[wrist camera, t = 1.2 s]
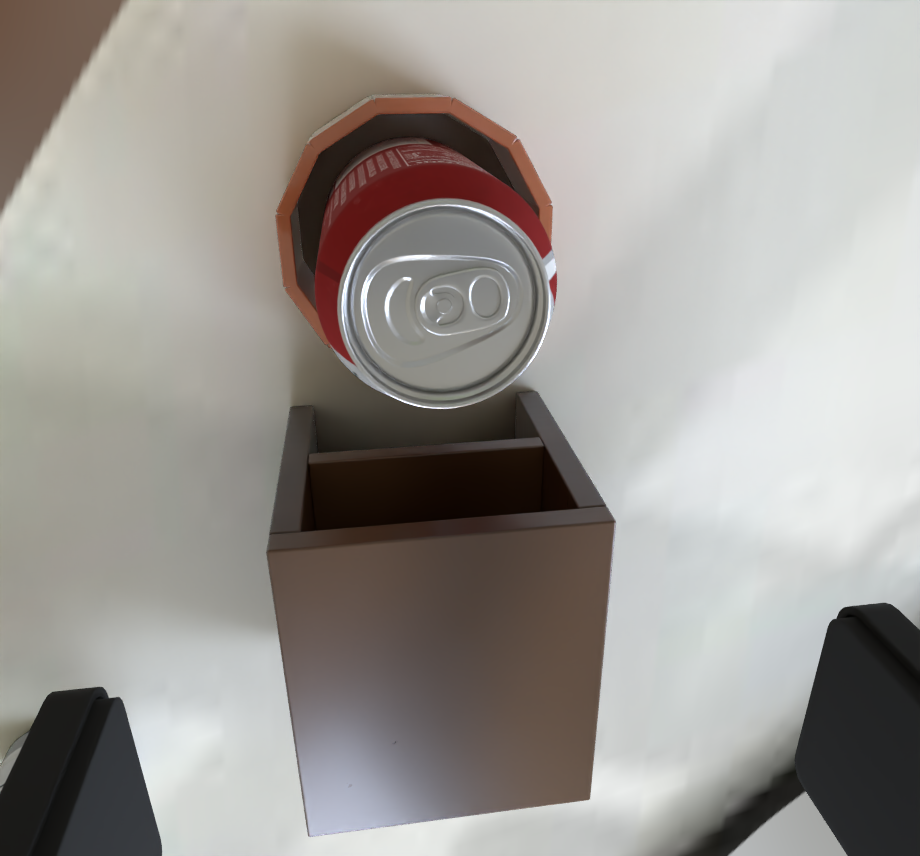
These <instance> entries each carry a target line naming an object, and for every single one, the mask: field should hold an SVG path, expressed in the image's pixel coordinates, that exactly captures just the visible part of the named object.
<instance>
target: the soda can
mask: <svg viewBox="0 0 920 856" xmlns="http://www.w3.org/2000/svg"><path fill="white" fill-rule="evenodd" d="M556 292H557V273H556V264H555V258H554V254H553V250H552V246H551V243H550V241H549V238H548V235H547V233H546V231H545V229H544V227H543V225H542V223H541V221H540V220H539V218H538V217H537V215H536V214H535V212H534V211H533V210H532V208H531V207H530V206H529V205H528V203H527V202H526V201H525V200H524V199H523V198H522V197H521V196H520V195H519V194H518V193H516V192H515V191H514V190H513V189H512V188H510V187H509V186H508V185H506V184H505V183H503V182H502V181H500V180H499V179H497V178H496V177H494V176H493V175H491V174H490V173H488V172H487V171H485V170H484V169H482V168H481V167H480V166H478V165H477V164H475V163H474V162H472V161H471V160H469V159H468V158H466V157H465V156H463V155H462V154H460V153H459V152H457V151H456V150H454V149H453V148H451V147H449V146H447V145H445V144H442V143H440V142H437V141H434V140H431V139H426V138H420V137H399V138H393V139H389V140H385V141H382V142H379V143H376V144H374V145H372V146H370V147H368V148H367V149H365V150H363V151H362V152H360V153H359V154H358V155H356V156H355V157H354V158H353V159H352V160H351V161H350V162H349V163H348V164H347V165H346V166H345V167H344V168H343V169H342V171H341V172H340V174H339V175H338V177H337V178H336V180H335V182H334V183H333V185H332V187H331V190H330V192H329V195H328V198H327V201H326V205H325V210H324V216H323V223H322V230H321V236H320V243H319V250H318V256H317V263H316V271H315V301H316V308H317V312H318V317H319V320H320V323H321V326H322V329H323V331H324V334H325V336H326V338H327V340H328V342H329V344H330V346H331V347H332V349H333V350H334V352H335V353H336V355H337V356H338V358H339V359H340V360H341V361H342V362H343V364H344V365H345V366H346V367H347V368H348V369H349V370H350V371H351V372H352V373H353V374H354V375H355V376H357V377H358V378H359V379H360V380H362V381H363V382H364V383H366V384H367V385H369V386H370V387H372V388H374V389H376V390H377V391H379V392H381V393H383V394H386V395H388V396H391V397H393V398H395V399H397V400H400V401H402V402H405V403H408V404H411V405H414V406H419V407H424V408H433V409H449V408H458V407H464V406H468V405H471V404H475V403H477V402H480V401H483V400H485V399H487V398H489V397H492V396H493V395H495V394H497V393H499V392H500V391H502V390H503V389H505V388H506V387H507V386H509V385H510V384H511V383H512V382H514V381H515V380H516V379H517V378H518V377H519V376H520V375H521V374H522V373H523V372H524V371H525V369H526V368H527V367H528V366H529V364H530V363H531V362H532V360H533V359H534V357H535V356H536V354H537V352H538V350H539V348H540V346H541V344H542V342H543V339H544V337H545V334H546V331H547V328H548V326H549V323H550V320H551V317H552V314H553V310H554V305H555V299H556Z"/></svg>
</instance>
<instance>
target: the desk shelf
mask: <svg viewBox="0 0 920 856" xmlns="http://www.w3.org/2000/svg"><path fill="white" fill-rule="evenodd" d="M615 528H616V521H615V519H614V517H613V516H612V514H611V513H610V511H609V509H608V508H607V507H606V504H605V502H604V501H603V499H602V497H601V496H600V494H599V492H598V491H597V489H596V488H595V486H594V484H593V483H592V481H591V479H590V478H589V476H588V474H587V473H586V471H585V469H584V468H583V466H582V464H581V463H580V461H579V459H578V458H577V456H576V455H575V453H574V451H573V450H572V448H571V446H570V445H569V443H568V441H567V440H566V438H565V436H564V435H563V433H562V431H561V430H560V428H559V426H558V425H557V423H556V422H555V420H554V418H553V417H552V415H551V413H550V412H549V410H548V408H547V407H546V405H545V403H544V402H543V400H542V398H541V397H540V395H539V393H538V392H520V393H517V394H516V427H515V439H508V440H494V441H480V442H466V443H452V444H438V445H424V446H410V447H396V448H382V449H368V450H354V451H340V452H326V453H318V447H317V437H316V427H315V418H314V408H313V406H299V407H290V412H289V418H288V424H287V430H286V436H285V442H284V448H283V454H282V460H281V466H280V472H279V478H278V484H277V490H276V496H275V502H274V509H273V515H272V521H271V527H270V533H269V540H268V546H267V552H266V553H267V560H268V567H269V574H270V580H271V587H272V594H273V601H274V608H275V614H276V621H277V628H278V635H279V642H280V648H281V655H282V662H283V669H284V676H285V683H286V689H287V696H288V703H289V710H290V717H291V723H292V730H293V737H294V744H295V751H296V757H297V764H298V771H299V778H300V785H301V791H302V798H303V805H304V812H305V819H306V825H307V832H308V836H309V837H313V836H320V835H328V834H335V833H343V832H350V831H358V830H365V829H373V828H380V827H388V826H396V825H403V824H411V823H418V822H426V821H433V820H441V819H448V818H456V817H463V816H471V815H479V814H486V813H494V812H501V811H509V810H516V809H524V808H531V807H539V806H546V805H554V804H562V803H569V802H577V801H584V800H589V799H590V793H591V782H592V772H593V761H594V750H595V740H596V729H597V719H598V708H599V698H600V687H601V676H602V666H603V655H604V645H605V634H606V623H607V613H608V602H609V592H610V581H611V571H612V560H613V549H614V539H615Z"/></svg>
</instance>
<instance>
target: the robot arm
mask: <svg viewBox="0 0 920 856" xmlns="http://www.w3.org/2000/svg"><path fill="white" fill-rule="evenodd" d="M795 768H796V772H797V775H798V778H799V780H800V782H801V784H802V786H803V788H804V789H805V791H806V792H807V794H808V795H809V796H810V798H811V800H812V801H813V803H814V804H815V806H816V807H817V809H818V810H819V812H820V814H821V815H822V817H823V818H824V820H825V821H826V823H827V824H828V826H829V828H830V829H831V831H832V832H833V834H834V835H835V837H836V838H837V840H838V841H839V843H840V845H841V846H842V848H843V849H844V851H845V852H846V854H847V855H848V856H920V630H919V629H918V628H917V627H916V626H915V625H914V624H913V623H912V622H911V621H910V620H909V619H907V618H906V617H905V616H904V615H903V614H902V613H901V612H900V611H899V610H898V609H897V608H895V607H894V606H893V605H891V604H887V603H878V604H868V605H859V606H850V607H845V608H843V609H842V610H841V611H840V612H839V614H838V616H837V619H833V620H832V621H831V622H830V623H829V626H828V629H827V633H826V637H825V640H824V644H823V648H822V652H821V656H820V660H819V664H818V668H817V672H816V676H815V680H814V683H813V687H812V691H811V695H810V699H809V703H808V707H807V711H806V715H805V719H804V723H803V726H802V730H801V734H800V738H799V742H798V746H797V750H796V754H795ZM0 856H162V845H161V839H160V835H159V832H158V828H157V824H156V821H155V817H154V813H153V810H152V806H151V802H150V799H149V795H148V791H147V788H146V784H145V780H144V777H143V773H142V769H141V766H140V762H139V758H138V755H137V751H136V747H135V744H134V740H133V736H132V733H131V729H130V725H129V722H128V718H127V714H126V711H125V707H124V704H123V701H122V699H121V698H120V697H116V698H109V697H108V695H107V692H106V690H105V689H104V688H103V687H94V688H85V689H75V690H66V691H57V692H52V693H50V694H49V695H48V696H47V697H46V699H45V701H44V702H43V704H42V706H41V708H40V710H39V713H38V715H37V717H36V719H35V721H34V723H33V725H32V727H31V729H30V731H29V733H28V736H27V738H26V740H25V742H24V744H23V746H22V748H21V750H20V752H19V754H18V756H17V759H16V761H15V763H14V765H13V767H12V769H11V771H10V773H9V775H8V777H7V780H6V782H5V784H4V786H3V788H2V790H1V792H0Z"/></svg>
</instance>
